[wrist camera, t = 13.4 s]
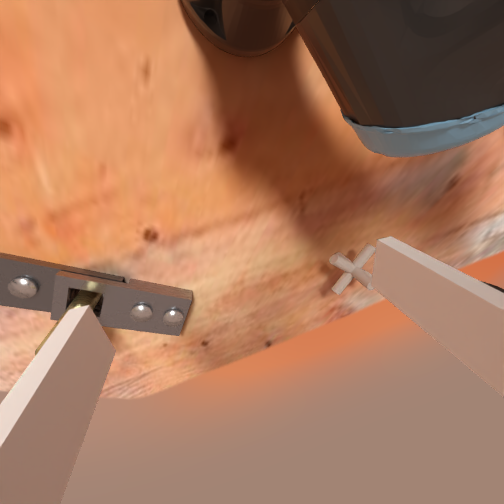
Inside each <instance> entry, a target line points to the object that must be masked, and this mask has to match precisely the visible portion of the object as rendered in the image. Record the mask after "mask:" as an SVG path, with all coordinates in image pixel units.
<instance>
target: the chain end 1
mask: <svg viewBox="0 0 504 504" xmlns="http://www.w3.org/2000/svg"><path fill="white" fill-rule="evenodd" d="M59 271H65V272H70V273H75V274H81V275H86V276H91V277H96V278H102V279H107V280H112V281H117V282H122V283H123V280H124V277H120V276H115V275H110V274H105V273H100V272H95V271H90V270H85V269H80V268H75V267H70V266H65V265H60V264H55V263H50V262H45V261H40V260H35V259H30V258H25V257H20V256H15V255H10V254H5V253H0V305H2V306H9V307H17V308H24V309H31V310H38V311H46V312H51V310H52V301H53V292H54V284H55V275H56V274H57V273H58V272H59ZM74 293H75V288H72V289H71V296H70V303H69V305H70V304H71V302H72V301H73V300H74ZM101 309H102V306H100V305H96V306H95V308H94V310H93V311H97V312H101Z"/></svg>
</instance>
